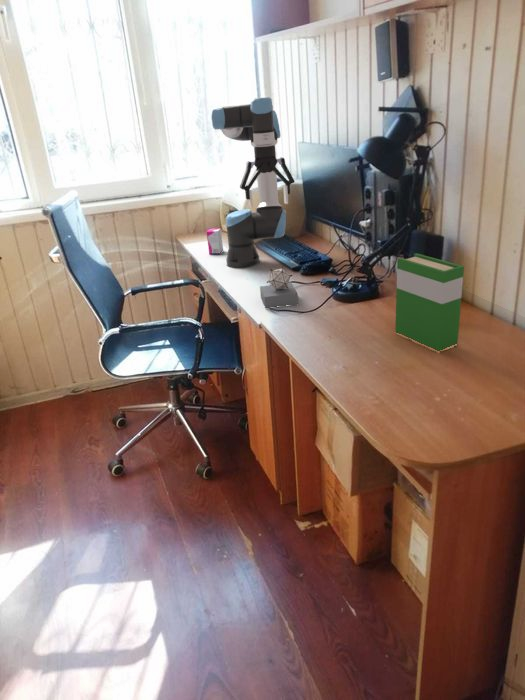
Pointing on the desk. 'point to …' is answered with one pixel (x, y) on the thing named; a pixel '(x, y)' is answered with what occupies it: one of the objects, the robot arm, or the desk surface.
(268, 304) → the base block
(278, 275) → the game die
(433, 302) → the hardback book
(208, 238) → the supplement box
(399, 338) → the desk surface
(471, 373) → the desk surface
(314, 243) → the desk surface
